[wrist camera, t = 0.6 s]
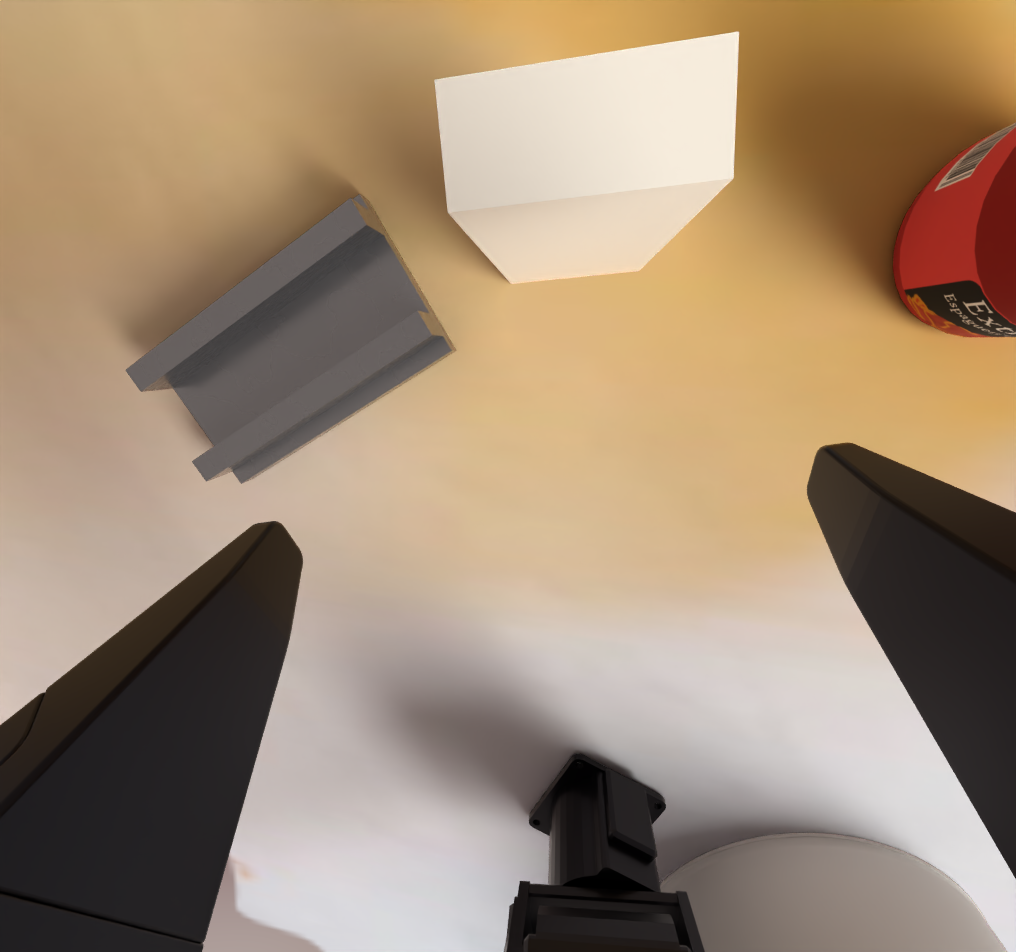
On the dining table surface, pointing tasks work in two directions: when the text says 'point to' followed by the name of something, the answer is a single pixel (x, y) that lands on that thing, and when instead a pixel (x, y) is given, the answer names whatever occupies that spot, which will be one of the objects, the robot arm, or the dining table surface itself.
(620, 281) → the dining table surface
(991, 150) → the canned food
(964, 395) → the dining table surface
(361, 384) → the bottom track
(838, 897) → the kettle
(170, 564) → the dining table surface
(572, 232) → the door panel
